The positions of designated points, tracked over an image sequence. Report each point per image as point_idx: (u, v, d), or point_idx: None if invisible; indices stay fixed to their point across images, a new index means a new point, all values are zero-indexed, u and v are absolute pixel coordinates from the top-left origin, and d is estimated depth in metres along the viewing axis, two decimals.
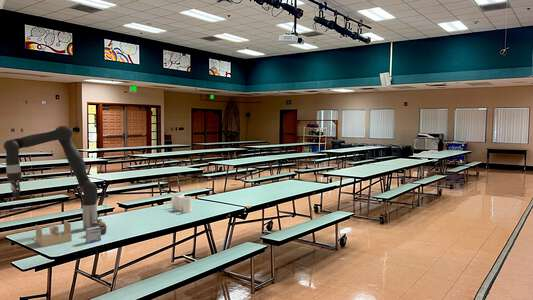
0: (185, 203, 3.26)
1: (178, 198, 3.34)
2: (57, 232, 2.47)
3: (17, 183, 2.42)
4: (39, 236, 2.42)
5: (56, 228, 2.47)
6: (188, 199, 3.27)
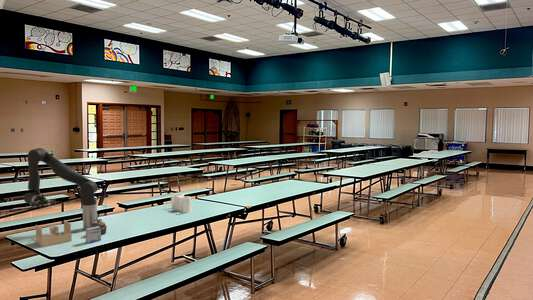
0: (185, 203, 3.26)
1: (178, 198, 3.34)
2: (57, 232, 2.47)
3: (30, 203, 2.60)
4: (39, 236, 2.42)
5: (56, 228, 2.47)
6: (188, 199, 3.27)
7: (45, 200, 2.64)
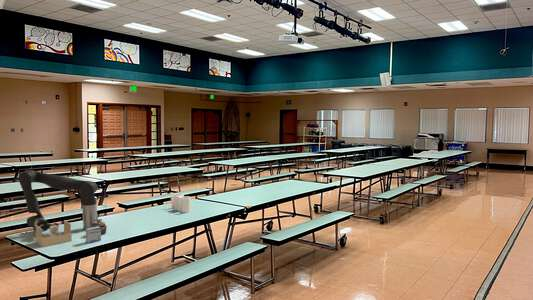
0: (184, 203, 3.26)
1: (177, 198, 3.34)
2: (57, 232, 2.47)
3: (33, 228, 2.58)
4: (39, 236, 2.42)
5: (56, 228, 2.47)
6: (187, 199, 3.27)
7: (48, 224, 2.63)
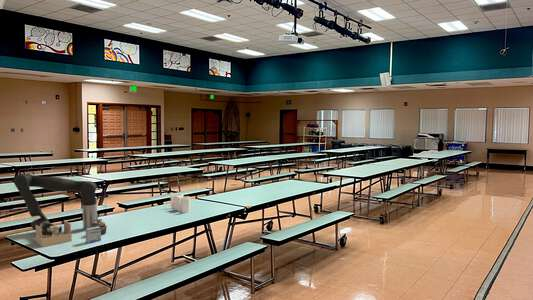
0: (184, 203, 3.26)
1: (177, 198, 3.34)
2: (57, 232, 2.47)
3: None
4: (39, 236, 2.42)
5: (56, 228, 2.47)
6: (187, 199, 3.26)
7: None
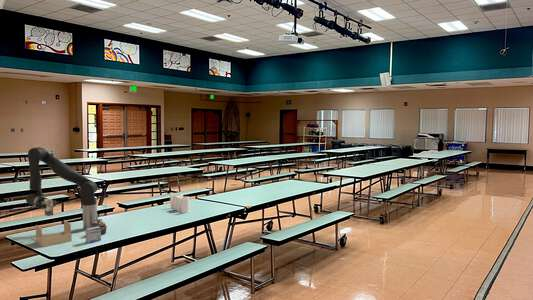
0: (183, 203, 3.25)
1: (176, 198, 3.34)
2: (51, 205, 2.53)
3: (34, 205, 2.54)
4: (39, 236, 2.42)
5: (50, 201, 2.52)
6: (186, 199, 3.26)
7: None
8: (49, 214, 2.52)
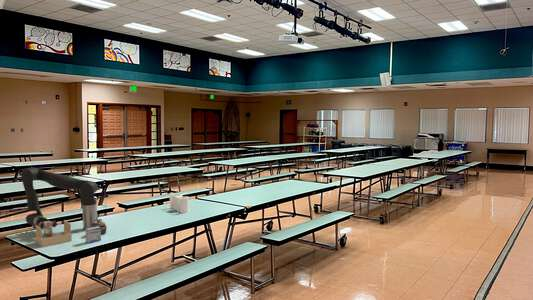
0: (182, 203, 3.25)
1: (176, 198, 3.33)
2: (51, 227, 2.57)
3: None
4: (39, 236, 2.42)
5: (50, 223, 2.56)
6: (185, 199, 3.26)
7: None
8: (48, 236, 2.56)
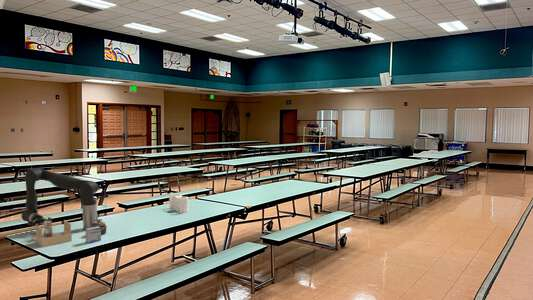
0: (182, 203, 3.25)
1: (175, 198, 3.33)
2: (50, 227, 2.57)
3: None
4: (39, 236, 2.42)
5: (50, 223, 2.56)
6: (185, 199, 3.26)
7: (42, 219, 2.72)
8: (48, 236, 2.56)
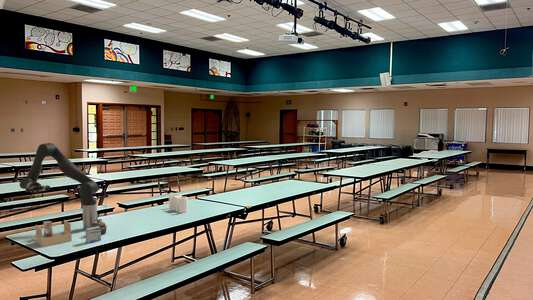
0: (181, 203, 3.25)
1: (175, 198, 3.33)
2: (50, 227, 2.57)
3: (25, 189, 2.67)
4: (39, 236, 2.42)
5: (50, 223, 2.56)
6: (184, 199, 3.26)
7: (40, 186, 2.72)
8: (48, 236, 2.56)
